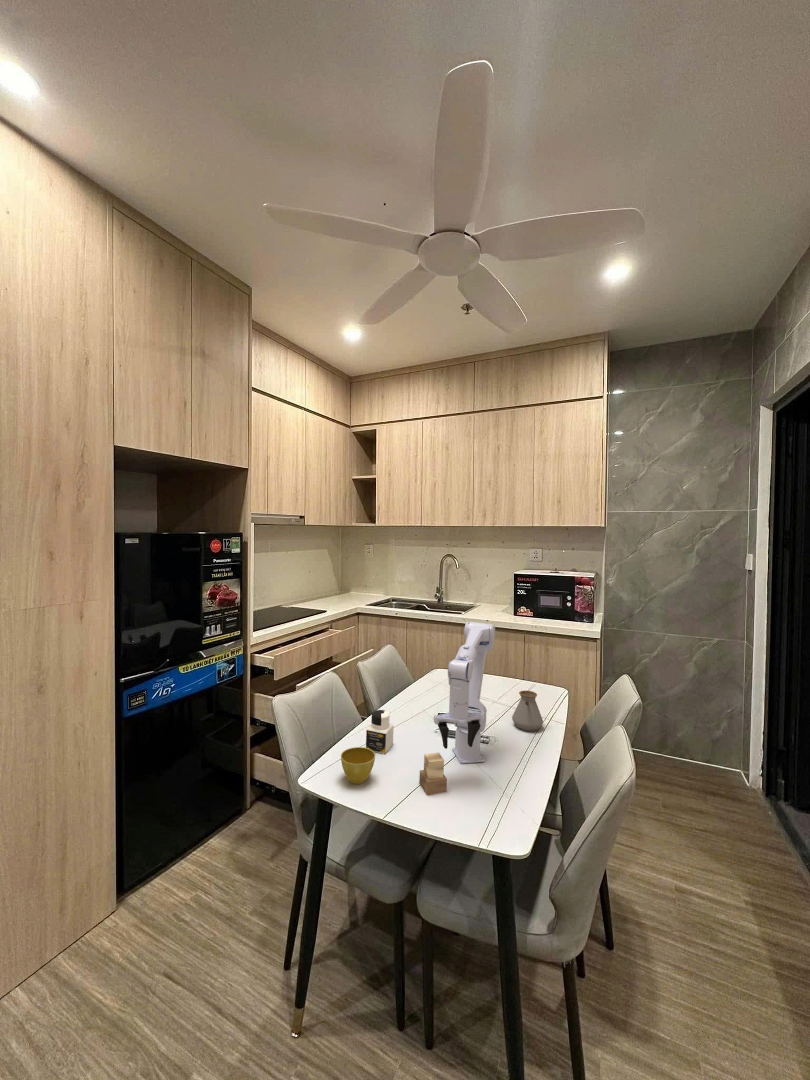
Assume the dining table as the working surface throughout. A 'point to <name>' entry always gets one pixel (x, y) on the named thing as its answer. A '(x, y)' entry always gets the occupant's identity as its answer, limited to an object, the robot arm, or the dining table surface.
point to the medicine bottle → (379, 732)
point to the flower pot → (357, 764)
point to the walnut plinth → (432, 784)
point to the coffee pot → (527, 712)
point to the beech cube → (433, 766)
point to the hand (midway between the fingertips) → (457, 746)
